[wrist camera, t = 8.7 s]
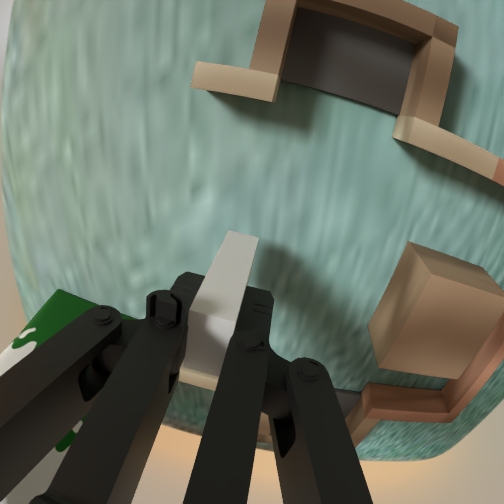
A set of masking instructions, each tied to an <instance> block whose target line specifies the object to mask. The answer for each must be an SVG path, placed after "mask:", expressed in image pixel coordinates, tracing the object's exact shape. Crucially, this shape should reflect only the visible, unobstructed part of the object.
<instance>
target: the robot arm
mask: <svg viewBox="0 0 504 504" xmlns="http://www.w3.org/2000/svg"><path fill="white" fill-rule="evenodd" d="M258 239H259V237H255V236H251V235H246V234H242V233H238V232H234V231H230V230H229V231H228V233H227V235H226V237H225V239H224V241H223V243H222V244H221V246H220V248H219V250H218V252H217V254H216V256H215V258H214V260H213V262H212V264H211V266H210V268H209V270H208V272H207V274H206V276H203V275H199V274H195V273H191V272H185V273H183V274H182V275H180V276H178V278H177V279H176V281H175V283H174V285H173V286H172V287H171V289H170V290H157V291H154V292H151V293H150V294H149V295H148V296H147V299H146V317H145V319H140V320H132V319H122V316H121V314H120V312H119V311H118V310H117V309H115V308H113V307H110V306H105V305H100V306H94V307H92V308H90V309H88V310H87V311H86V312H84V313H83V314H81V315H80V316H79V317H77V318H76V319H75V320H73V321H72V322H70V323H69V324H68V325H66V326H65V327H64V328H62V329H61V330H60V331H58V332H57V333H56V334H54V335H53V336H52V337H50V338H49V339H48V340H46V341H45V342H44V343H42V344H41V345H40V346H38V347H37V348H36V349H34V350H33V351H32V352H30V353H29V354H28V355H27V356H25V357H24V358H23V359H21V360H20V361H19V362H18V363H16V364H15V365H14V366H12V367H11V368H10V369H9V370H7V371H6V372H5V373H4V374H2V375H1V376H0V502H1V501H2V500H3V499H4V498H5V497H6V496H7V495H8V494H9V493H10V492H11V491H12V490H13V489H14V488H15V487H16V486H17V485H18V484H19V483H20V482H21V481H22V480H23V479H24V478H25V477H26V476H27V475H28V474H29V473H30V471H31V470H32V469H33V468H34V467H35V466H36V465H37V464H38V463H39V462H40V461H41V460H42V459H43V458H44V457H45V456H46V455H47V454H48V453H49V452H50V451H51V450H52V449H53V448H54V447H55V446H56V445H57V444H58V443H59V442H60V441H61V440H62V439H63V438H64V437H65V436H66V435H67V434H68V433H69V432H70V431H71V430H72V429H73V428H74V427H75V426H76V425H77V424H78V423H79V422H80V421H81V419H82V418H83V417H84V416H85V415H86V414H87V413H88V412H89V413H88V415H87V416H86V418H85V420H84V422H83V423H82V425H81V427H80V429H79V431H78V432H77V434H76V436H75V438H74V440H73V442H72V444H71V445H70V447H69V449H68V451H67V453H66V455H65V457H64V458H63V460H62V462H61V464H60V466H59V468H58V470H57V472H56V474H55V476H54V478H53V480H52V482H51V484H50V486H49V487H48V489H47V491H46V492H45V493H43V494H40V495H37V496H35V497H34V498H33V499H32V500H31V501H30V502H29V504H131V502H132V499H133V497H134V494H135V491H136V488H137V486H138V483H139V481H140V478H141V475H142V472H143V470H144V467H145V465H146V462H147V459H148V456H149V454H150V451H151V449H152V446H153V443H154V441H155V438H156V435H157V433H158V431H159V428H160V425H161V423H162V420H163V418H164V415H165V412H166V410H167V407H168V405H169V402H170V400H171V397H172V395H173V392H174V389H175V387H176V384H177V382H178V379H179V374H180V367H181V365H182V362H183V367H185V368H188V369H192V370H195V371H199V372H203V373H206V374H210V375H214V376H218V377H219V379H218V382H217V386H216V389H215V393H214V396H213V400H212V403H211V407H210V410H209V414H208V417H207V421H206V424H205V428H204V431H203V435H202V438H201V442H200V445H199V449H198V452H197V456H196V460H195V463H194V467H193V470H192V473H191V477H190V480H189V484H188V487H187V491H186V494H185V498H184V501H183V504H247V499H248V493H249V487H250V481H251V474H252V469H253V462H254V456H255V450H256V443H257V437H258V430H259V423H260V417H261V412H262V413H264V414H266V415H268V419H269V425H270V431H271V437H272V442H273V448H274V454H275V459H276V465H277V471H278V476H279V482H280V487H281V493H282V498H283V503H284V504H373V502H372V499H371V495H370V492H369V489H368V486H367V483H366V480H365V477H364V474H363V471H362V468H361V465H360V462H359V459H358V456H357V453H356V450H355V447H354V444H353V441H352V438H351V436H350V433H349V430H348V427H347V424H346V421H345V418H344V415H343V412H342V410H341V407H340V404H339V401H338V398H337V395H336V393H335V390H334V387H333V384H332V381H331V379H330V376H329V373H328V371H327V370H326V368H325V367H324V366H323V365H322V364H321V363H320V362H318V361H316V360H314V359H310V358H305V357H304V358H297V359H295V360H294V361H292V362H290V361H288V360H285V359H283V358H282V357H280V356H278V355H277V354H276V353H275V352H274V351H273V350H272V349H271V347H270V344H269V335H270V327H271V319H272V312H273V304H274V299H273V297H272V294H271V292H270V291H266V290H262V289H258V288H254V287H250V286H247V285H248V281H249V277H250V273H251V269H252V265H253V260H254V256H255V252H256V248H257V244H258ZM183 360H184V361H183Z"/></svg>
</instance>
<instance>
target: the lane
mask: <svg viewBox="0 0 504 504" xmlns="http://www.w3.org/2000/svg"><path fill="white" fill-rule="evenodd" d="M279 85H280V78H279V76H278V75H276V74H271V73H266V72H261V71H256V70H251V69H245V68H240V67H233V66H227V65H220V64H213V63H206V62H197V61H196V64H195V68H194V73H193V78H192V82H191V87H190V88H197V89H203V90H209V91H215V92H221V93H227V94H233V95H238V96H243V97H249V98H254V99H258V100H263V101H268V102H272V103H275V102H276V97H277V93H278V89H279ZM392 137H393V138H396V139H398V140H401V141H404V142H406V143H409V144H412V145H414V146H417V147H419V148H422V149H424V150H427V151H429V152H432V153H434V154H436V155H439V156H441V157H443V158H446V159H448V160H450V161H452V162H455V163H457V164H459V165H461V166H463V167H466V168H468V169H470V170H472V171H474V172H476V173H478V174H480V175H482V176H484V177H486V178H488V179H490V180H492V181H494V182H496V183H498V184H500V185H502V186H504V160H503V159H501V158H499V157H497V156H496V155H494V154H492V153H490V152H488V151H486V150H484V149H483V148H481V147H479V146H477V145H475V144H473V143H471V142H469V141H467V140H465V139H463V138H461V137H459V136H457V135H455V134H452V133H450V132H448V131H446V130H444V129H442V128H439V127H437V126H435V125H433V124H430V123H428V122H426V121H423V120H421V119H418V118H416V117H410V116H401V115H398V116H397V120H396V124H395V127H394V131H393V135H392ZM503 359H504V313H503V314H502V316H501V318H500V319H499V321H498V322H497V324H496V326H495V327H494V329H493V330H492V332H491V333H490V335H489V336H488V338H487V339H486V341H485V342H484V344H483V345H482V347H481V348H480V350H479V351H478V353H477V354H476V355H475V357H474V358H473V360H472V361H471V362H470V364H469V365H468V366H467V368H466V369H465V370H464V372H463V373H462V374H461V376H460V377H459V378H458V379H449V381H448V382H447V383H446V385H445V386H444V387H443V389H442V390H441V391H439V390H428V389H417V388H408V387H399V386H391V385H383V384H376V383H367V385H366V386H365V388H364V389H363V391H362V392H361V394H362V400H363V407H364V414H365V418H368V419H379V420H392V421H408V422H434V423H451V422H452V421H453V420H454V419H455V418H456V417H457V416H458V415H459V414H460V413H461V411H462V410H463V409H464V408H465V407H466V406H467V405H468V403H469V402H470V401H471V400H472V399H473V398H474V396H475V395H476V394H477V393H478V392H479V390H480V389H481V388H482V387H483V385H484V384H485V383H486V381H487V380H488V379H489V378H490V376H491V375H492V374H493V372H494V371H495V370H496V368H497V367H498V366H499V364H500V363H501V361H502V360H503ZM183 361H184V360H183ZM218 379H219V377H218V376H214V375H210V374H206V373H203V372H199V371H195V370H192V369H188V368H185V367H183V362H182V365H181V367H180V374H179V379H178V381H181V382H184V383H188V384H191V385H195V386H198V387H202V388H206V389H209V390H213V391H215V389H216V386H217V382H218Z"/></svg>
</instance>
